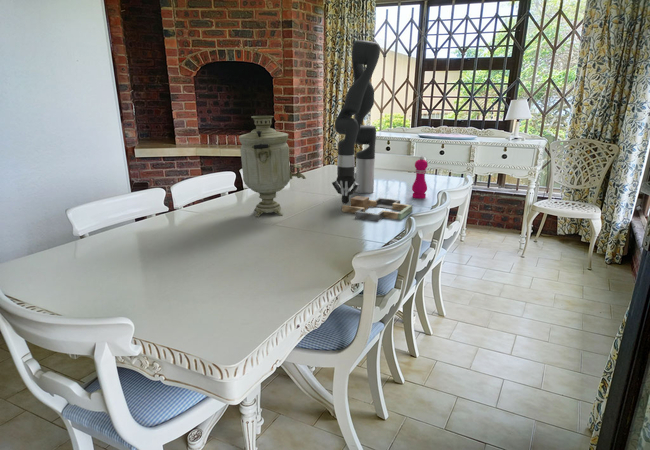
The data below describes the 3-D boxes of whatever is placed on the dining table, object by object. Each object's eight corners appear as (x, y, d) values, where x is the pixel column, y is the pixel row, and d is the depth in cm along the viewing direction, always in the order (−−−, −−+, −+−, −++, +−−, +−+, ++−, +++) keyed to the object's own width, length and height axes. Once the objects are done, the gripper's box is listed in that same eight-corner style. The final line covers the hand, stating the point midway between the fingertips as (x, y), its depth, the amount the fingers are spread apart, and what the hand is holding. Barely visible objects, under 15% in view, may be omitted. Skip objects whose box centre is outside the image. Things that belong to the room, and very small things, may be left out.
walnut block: (350, 209, 185) (350, 198, 184) (356, 206, 190) (356, 195, 189) (363, 211, 183) (363, 200, 181) (368, 208, 188) (369, 197, 186)
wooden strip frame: (335, 214, 177) (335, 209, 177) (361, 200, 200) (361, 195, 199) (396, 223, 165) (396, 217, 165) (416, 207, 188) (416, 202, 187)
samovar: (294, 225, 163) (292, 119, 151) (230, 221, 168) (223, 118, 156) (312, 205, 191) (311, 114, 179) (257, 202, 196) (252, 113, 184)
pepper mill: (409, 197, 205) (412, 156, 199) (413, 194, 211) (416, 154, 205) (424, 199, 202) (427, 157, 196) (428, 196, 208) (431, 155, 202)
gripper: (328, 165, 184) (328, 203, 189) (356, 167, 178) (355, 207, 183) (336, 162, 190) (336, 199, 195) (363, 164, 184) (362, 203, 189)
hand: (345, 203), depth 189 cm, fingers closed
